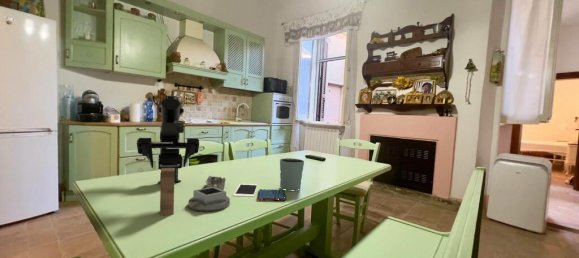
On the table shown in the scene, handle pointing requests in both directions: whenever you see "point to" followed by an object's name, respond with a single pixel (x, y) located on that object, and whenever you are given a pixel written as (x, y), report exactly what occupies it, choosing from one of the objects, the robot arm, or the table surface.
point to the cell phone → (246, 190)
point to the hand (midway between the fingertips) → (168, 166)
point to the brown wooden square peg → (167, 191)
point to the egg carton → (215, 182)
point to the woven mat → (271, 194)
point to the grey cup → (291, 173)
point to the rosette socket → (209, 200)
